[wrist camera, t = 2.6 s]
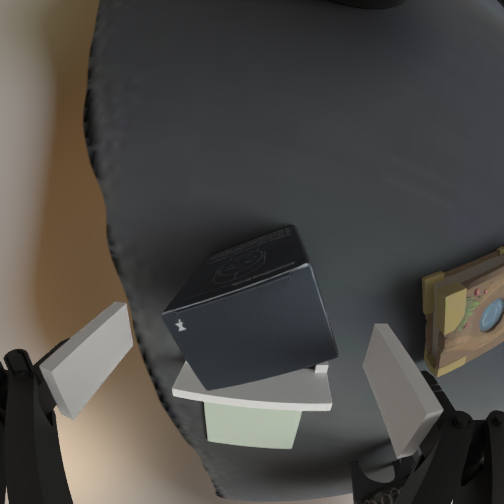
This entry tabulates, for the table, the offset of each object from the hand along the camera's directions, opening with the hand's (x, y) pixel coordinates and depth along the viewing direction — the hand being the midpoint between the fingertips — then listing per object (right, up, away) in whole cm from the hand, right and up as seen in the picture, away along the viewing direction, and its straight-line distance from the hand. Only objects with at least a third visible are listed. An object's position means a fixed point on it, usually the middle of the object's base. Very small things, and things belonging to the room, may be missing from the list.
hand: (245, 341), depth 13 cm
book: (+25, -1, +9) cm, 26 cm away
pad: (0, -16, +15) cm, 22 cm away
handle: (+1, -7, +12) cm, 14 cm away
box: (+1, +3, +10) cm, 10 cm away
